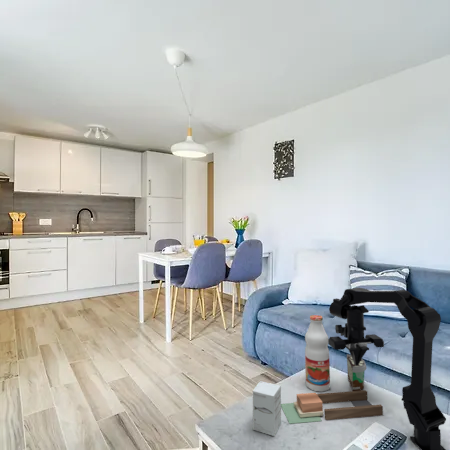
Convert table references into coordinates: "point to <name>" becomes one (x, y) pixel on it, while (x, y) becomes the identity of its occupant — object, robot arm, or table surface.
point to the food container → (355, 374)
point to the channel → (349, 411)
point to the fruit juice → (317, 356)
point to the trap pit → (361, 403)
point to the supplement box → (267, 408)
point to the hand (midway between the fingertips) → (356, 365)
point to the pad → (296, 415)
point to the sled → (309, 405)
